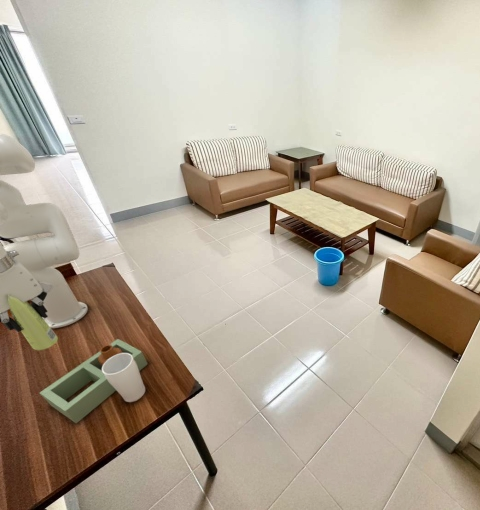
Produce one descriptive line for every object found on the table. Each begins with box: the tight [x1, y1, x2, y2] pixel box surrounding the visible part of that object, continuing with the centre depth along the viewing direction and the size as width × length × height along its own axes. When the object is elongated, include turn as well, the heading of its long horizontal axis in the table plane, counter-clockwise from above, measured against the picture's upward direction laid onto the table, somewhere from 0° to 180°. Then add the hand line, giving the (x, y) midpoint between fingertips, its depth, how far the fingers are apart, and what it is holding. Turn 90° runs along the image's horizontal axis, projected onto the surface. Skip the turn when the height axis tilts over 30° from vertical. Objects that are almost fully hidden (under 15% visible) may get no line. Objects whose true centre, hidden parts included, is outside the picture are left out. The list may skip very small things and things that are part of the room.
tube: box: [8, 294, 59, 351], centre depth 68 cm, size 6×5×20 cm
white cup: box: [102, 353, 146, 403], centre depth 75 cm, size 7×7×15 cm
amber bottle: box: [98, 344, 122, 366], centre depth 81 cm, size 5×5×11 cm
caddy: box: [39, 338, 148, 424], centre depth 79 cm, size 11×20×6 cm, turn 157°
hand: (30, 321), depth 69 cm, fingers closed on tube, 4 cm apart
